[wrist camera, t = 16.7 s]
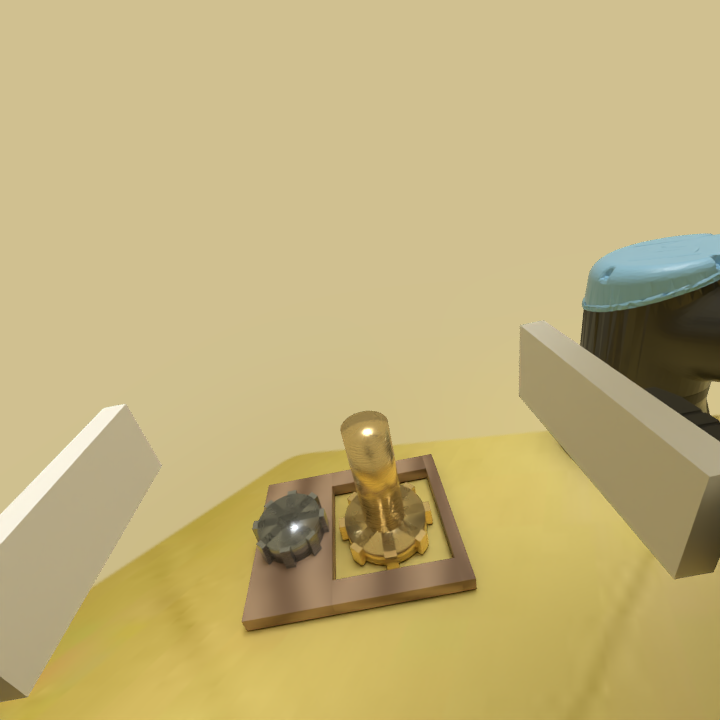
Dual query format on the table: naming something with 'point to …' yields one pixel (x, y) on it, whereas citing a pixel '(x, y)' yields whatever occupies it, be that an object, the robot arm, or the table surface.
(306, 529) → the sun gear
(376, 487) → the planet gear
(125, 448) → the robot arm
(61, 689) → the table surface
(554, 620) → the table surface
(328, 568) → the plate
